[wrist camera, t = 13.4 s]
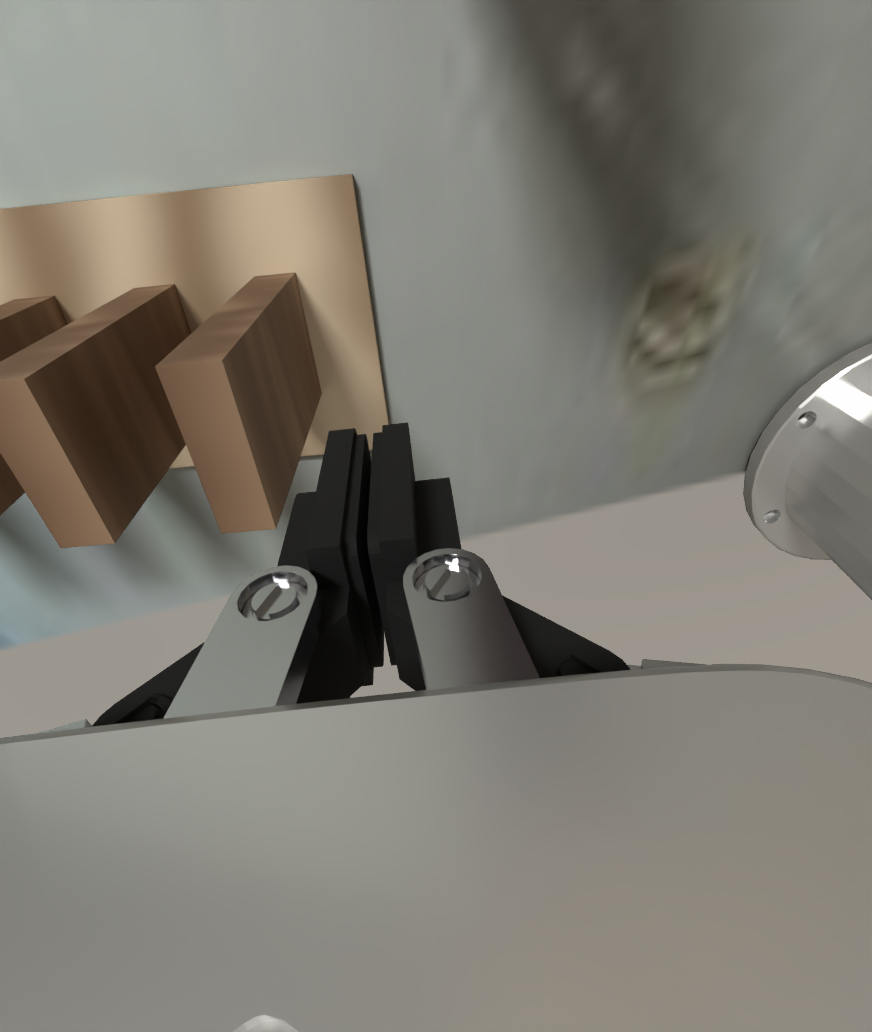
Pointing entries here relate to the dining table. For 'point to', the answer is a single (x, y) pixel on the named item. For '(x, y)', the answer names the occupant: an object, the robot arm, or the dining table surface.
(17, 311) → the domino
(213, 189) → the light wooden board
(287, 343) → the domino
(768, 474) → the robot arm
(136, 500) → the domino
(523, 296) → the dining table surface
